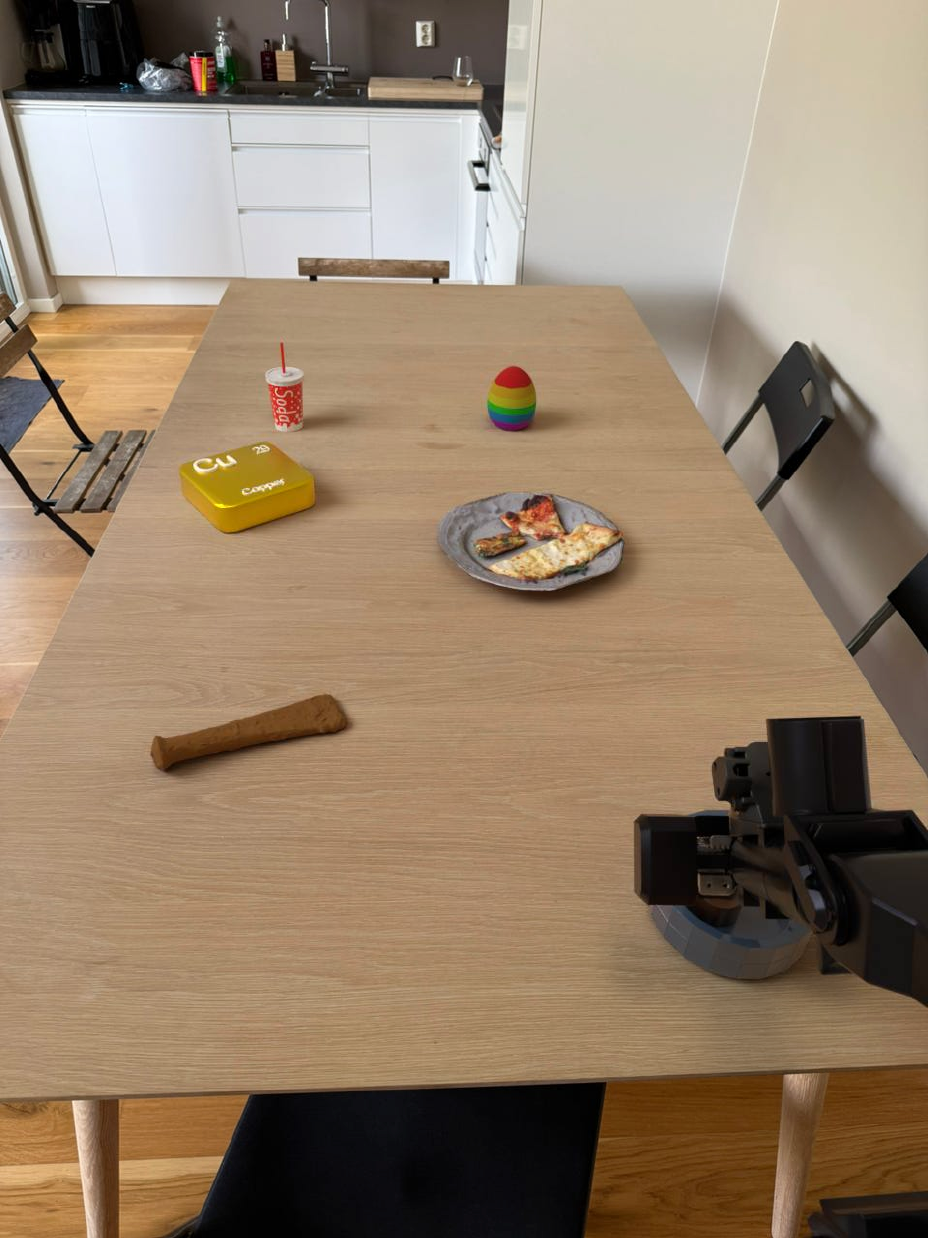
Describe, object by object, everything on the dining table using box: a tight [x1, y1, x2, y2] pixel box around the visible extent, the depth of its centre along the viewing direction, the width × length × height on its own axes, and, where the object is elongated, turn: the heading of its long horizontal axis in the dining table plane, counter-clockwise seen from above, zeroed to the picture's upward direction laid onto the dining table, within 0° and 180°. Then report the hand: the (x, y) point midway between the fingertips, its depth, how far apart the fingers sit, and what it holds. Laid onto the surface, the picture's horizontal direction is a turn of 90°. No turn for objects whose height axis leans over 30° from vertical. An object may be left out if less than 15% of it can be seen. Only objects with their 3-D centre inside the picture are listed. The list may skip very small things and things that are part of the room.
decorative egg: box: [486, 365, 537, 431], centre depth 148 cm, size 8×8×10 cm
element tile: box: [178, 441, 316, 534], centre depth 127 cm, size 15×15×5 cm
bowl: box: [648, 809, 814, 980], centre depth 75 cm, size 14×14×5 cm
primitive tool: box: [149, 693, 348, 772], centre depth 89 cm, size 19×6×4 cm, turn 119°
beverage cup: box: [264, 342, 305, 433], centre depth 143 cm, size 6×6×14 cm
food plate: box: [436, 491, 626, 592], centre depth 119 cm, size 25×23×4 cm
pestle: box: [690, 806, 742, 926], centre depth 71 cm, size 4×4×14 cm
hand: (727, 845), depth 73 cm, fingers closed on pestle, 3 cm apart
